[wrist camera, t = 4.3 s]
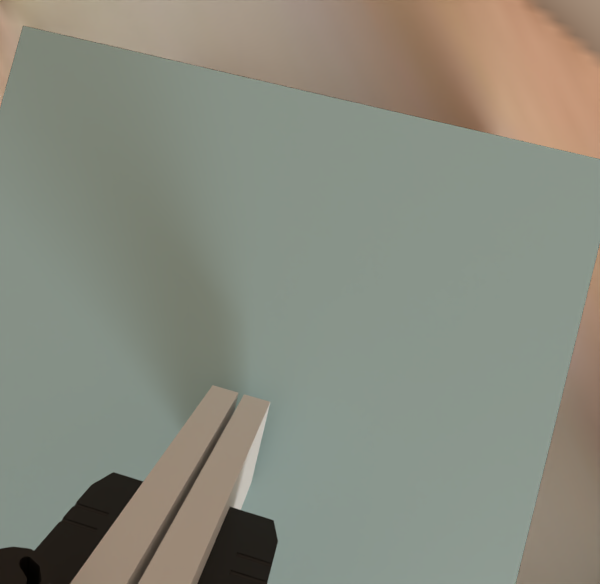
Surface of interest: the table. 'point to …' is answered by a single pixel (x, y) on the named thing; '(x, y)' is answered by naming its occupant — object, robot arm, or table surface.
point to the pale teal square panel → (285, 306)
